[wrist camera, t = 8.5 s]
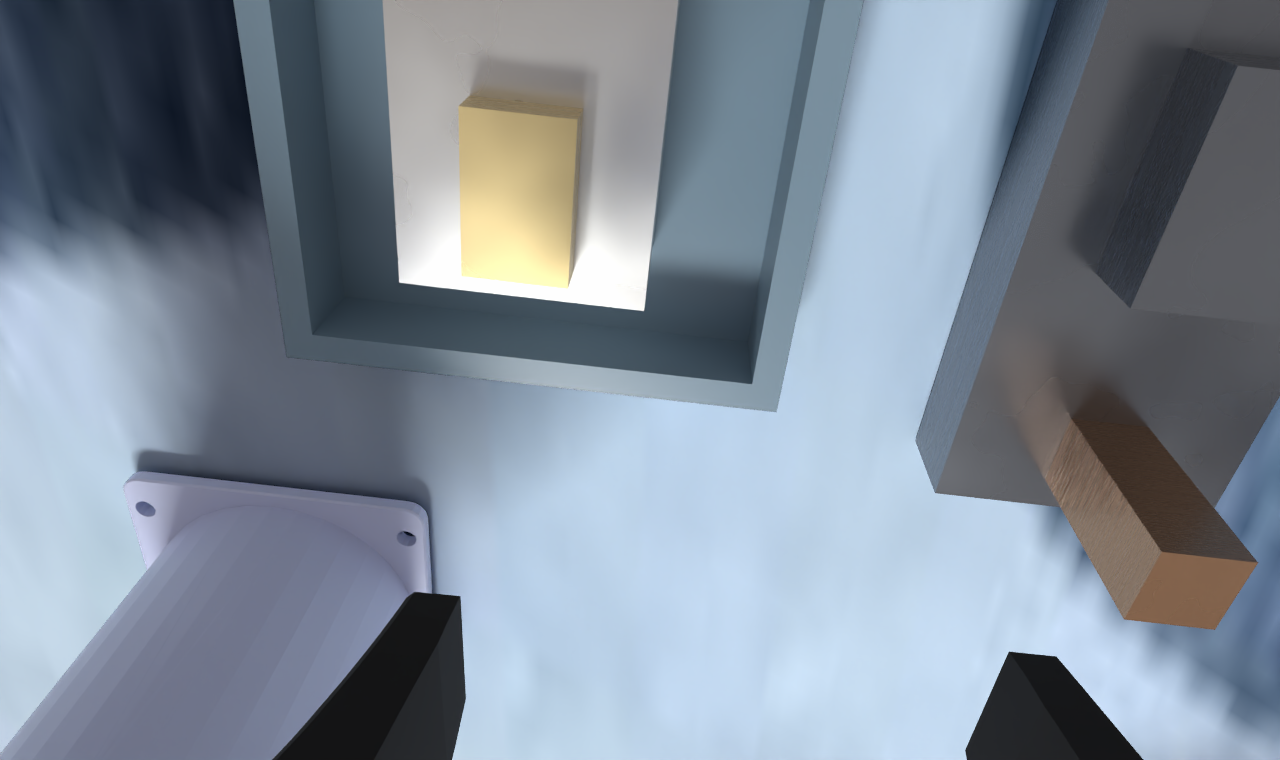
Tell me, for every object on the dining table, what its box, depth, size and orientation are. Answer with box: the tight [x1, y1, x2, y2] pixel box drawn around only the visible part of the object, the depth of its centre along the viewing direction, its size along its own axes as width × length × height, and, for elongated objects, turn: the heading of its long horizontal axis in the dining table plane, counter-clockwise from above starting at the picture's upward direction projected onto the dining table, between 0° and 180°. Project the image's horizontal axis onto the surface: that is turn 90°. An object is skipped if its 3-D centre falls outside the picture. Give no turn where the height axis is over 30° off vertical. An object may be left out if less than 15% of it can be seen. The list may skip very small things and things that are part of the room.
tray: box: [233, 0, 864, 412], centre depth 15 cm, size 11×10×2 cm
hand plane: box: [916, 0, 1280, 630], centre depth 14 cm, size 15×6×6 cm, turn 175°
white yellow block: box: [383, 0, 680, 311], centre depth 14 cm, size 6×4×4 cm
